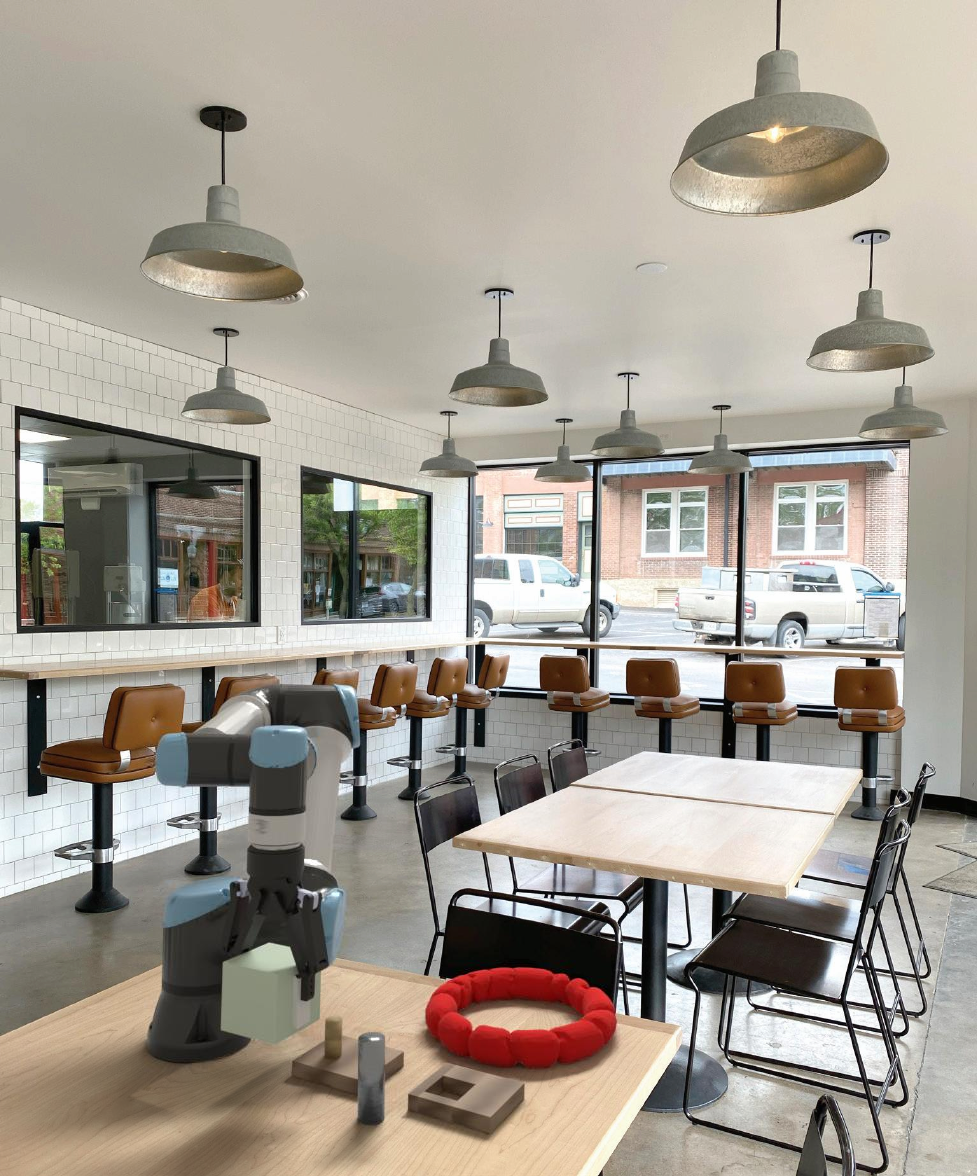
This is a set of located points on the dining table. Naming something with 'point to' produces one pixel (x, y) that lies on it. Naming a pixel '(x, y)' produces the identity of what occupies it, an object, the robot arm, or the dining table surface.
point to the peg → (371, 1078)
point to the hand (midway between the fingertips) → (271, 1016)
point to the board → (339, 1060)
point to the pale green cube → (263, 994)
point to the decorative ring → (521, 1044)
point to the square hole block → (467, 1097)
